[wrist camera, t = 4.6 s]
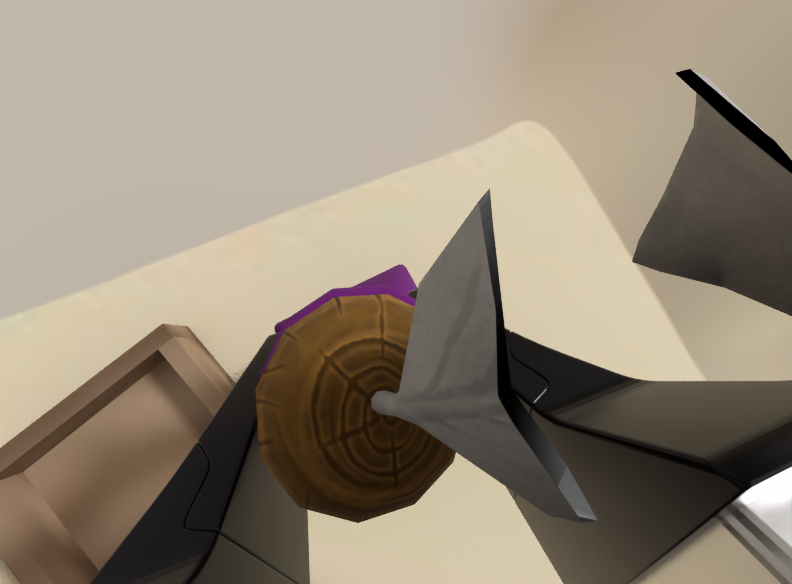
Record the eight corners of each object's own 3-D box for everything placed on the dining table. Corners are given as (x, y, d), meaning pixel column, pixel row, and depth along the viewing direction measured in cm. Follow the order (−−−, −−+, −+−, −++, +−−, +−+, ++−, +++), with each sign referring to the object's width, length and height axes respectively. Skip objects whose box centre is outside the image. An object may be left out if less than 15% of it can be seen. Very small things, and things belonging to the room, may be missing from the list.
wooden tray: (298, 457, 19) (288, 474, 17) (125, 622, 17) (84, 669, 14) (187, 326, 20) (162, 323, 17) (7, 467, 18) (-51, 487, 15)
